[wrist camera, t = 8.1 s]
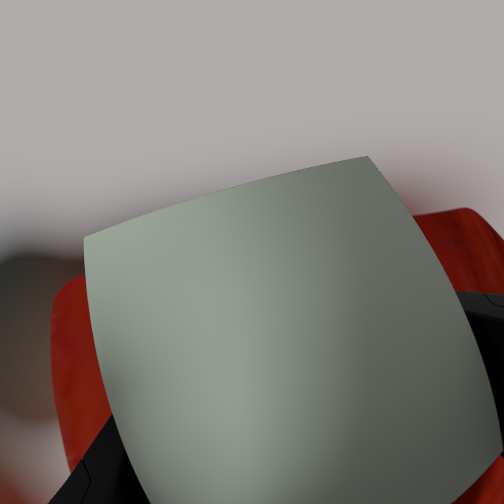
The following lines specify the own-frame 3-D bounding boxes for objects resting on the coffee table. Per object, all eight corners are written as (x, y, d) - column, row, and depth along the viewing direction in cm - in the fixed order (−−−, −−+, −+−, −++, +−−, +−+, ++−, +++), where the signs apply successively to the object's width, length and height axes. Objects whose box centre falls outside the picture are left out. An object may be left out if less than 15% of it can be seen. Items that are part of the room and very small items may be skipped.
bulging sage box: (362, 425, 12) (503, 450, 3) (237, 477, 10) (221, 598, 1) (303, 287, 15) (367, 156, 6) (181, 330, 14) (84, 237, 5)
